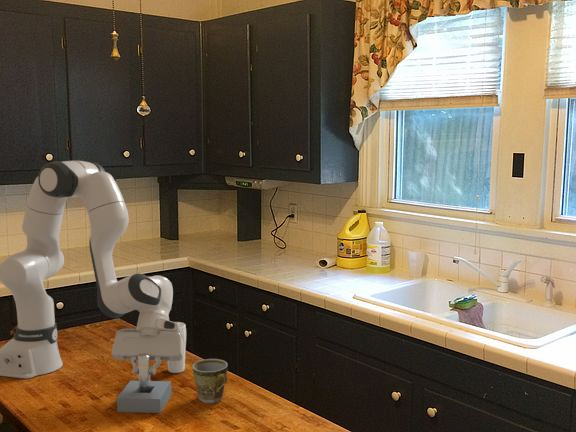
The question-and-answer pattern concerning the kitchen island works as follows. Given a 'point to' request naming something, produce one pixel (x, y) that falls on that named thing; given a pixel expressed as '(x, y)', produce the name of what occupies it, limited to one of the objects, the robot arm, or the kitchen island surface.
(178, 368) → the white tapered cylinder
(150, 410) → the socket block
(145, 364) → the steel pin
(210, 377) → the ceramic cup
